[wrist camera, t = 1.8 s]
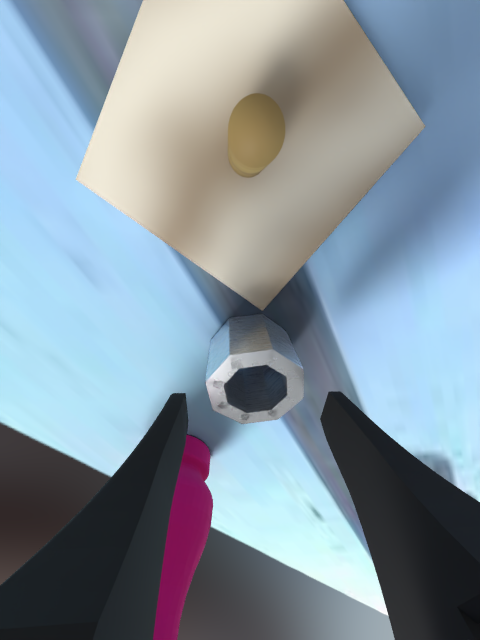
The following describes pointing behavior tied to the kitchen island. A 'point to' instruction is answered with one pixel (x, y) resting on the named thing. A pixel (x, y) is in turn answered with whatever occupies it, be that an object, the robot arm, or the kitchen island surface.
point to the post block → (246, 132)
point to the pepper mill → (184, 537)
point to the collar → (253, 370)
